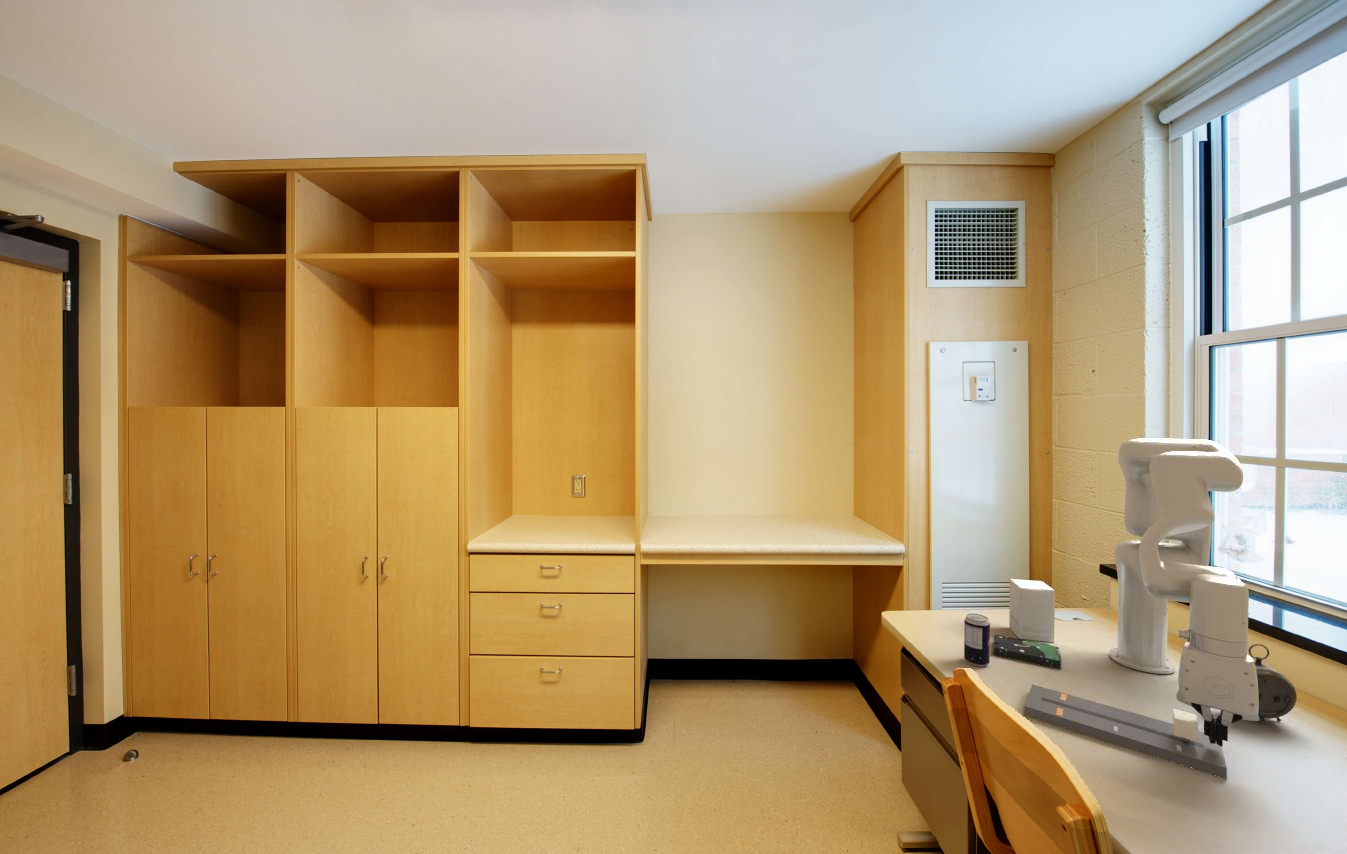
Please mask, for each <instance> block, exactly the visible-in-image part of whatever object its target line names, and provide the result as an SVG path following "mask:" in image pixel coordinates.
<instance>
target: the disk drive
mask: <svg viewBox="0 0 1347 854" xmlns="http://www.w3.org/2000/svg"><path fill="white" fill-rule="evenodd" d="M992 647H993V649H992V650H993V654H992V655H993V656H994V657H999V658H1004V659H1008V660H1014V661H1019V662H1024V663H1028V664H1034V665H1038V666H1043V667H1046V668H1051V669H1056V670H1062V658H1061V657H1062V656H1061V653H1060V647H1059V646H1055V645H1051V644H1047V643H1042V642H1038V641H1033V640H1027V639H1019V638H1016V637H1010V636H1005V635H1000V634H994V636H993V646H992Z"/></svg>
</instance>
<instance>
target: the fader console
mask: <svg viewBox="0 0 1347 854" xmlns="http://www.w3.org/2000/svg"><path fill="white" fill-rule="evenodd" d="M1023 716H1024V717H1029V718H1031V719H1035V720H1038V721H1042V722H1044V723H1048V724H1051V725H1054V726H1057V727H1060V728H1063V729H1066V730H1070V731H1072V732H1076V733H1078V734H1082V735H1086V736H1089V737H1091V738H1095V739H1098V740H1101V741H1104V742H1108V743H1111V744H1114V745H1116V746H1117V745H1118V746H1120V747H1123V748H1126V749H1130V750H1133V751H1136V752H1139V753H1142V754H1145V755H1149V756H1151V755H1152V757H1154V756H1155V758H1157V757H1159V758H1158V759H1161V760H1164V759H1165V760H1164V761H1167V760H1168V761H1167V762H1170V761H1172V762H1171V763H1173V762H1175V763H1174V764H1176V763H1177V765H1179V764H1182V765H1181V766H1183V765H1184V766H1183V767H1186V766H1187V767H1186V768H1189V767H1192V768H1194V769H1193V770H1195V769H1196V771H1198V770H1199V772H1201V771H1203V773H1204V774H1205V773H1206V774H1208V775H1211V774H1212V775H1211V776H1214V775H1216V776H1215V777H1217V776H1219V777H1218V778H1220V777H1221V779H1223V778H1225V779H1224V780H1227V778H1228V776H1227V775H1228V774H1227V773H1228V767H1227V764H1226V758H1225V755H1224V752H1223V748H1222V747H1223V746H1219V745H1218V744H1217V743H1216V744H1212V743H1210V741H1209V736H1206V735H1204V731H1203V732H1202V731H1200V730H1198V742H1197V741H1193V740H1190V741H1186V740H1183V739H1181V737H1180V736H1176V735H1174V729H1173V722H1172V723H1171V722H1168V721H1164V720H1160V719H1157V718H1153V717H1150V716H1146V715H1144V714H1140V713H1135V712H1132V711H1128V710H1124V709H1122V708H1117V707H1115V706H1111V705H1108V704H1104V703H1100V702H1097V701H1094V700H1090V699H1085V698H1082V697H1079V696H1076V695H1072V694H1068V693H1065V692H1061V691H1057V690H1054V689H1052V688H1047V687H1043V686H1039V685H1036V684H1034V683H1033V684H1032V685H1031V687H1030V689H1029V692H1028V694H1027V696H1026V699H1025V702H1024V704H1023ZM1192 768H1191V769H1192Z"/></svg>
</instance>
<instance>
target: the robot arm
mask: <svg viewBox="0 0 1347 854" xmlns="http://www.w3.org/2000/svg"><path fill="white" fill-rule="evenodd" d="M1117 453H1118V454H1117V455H1118V457H1117V458H1118V464H1119V466H1120V470H1121V471H1122V473H1123V476H1124V479H1125V498H1124V499H1125V500H1124V518H1123V519H1124V527H1125V530H1126V531H1127V532H1128V533H1129V534H1130V535H1133V536H1135V537H1138V538H1141V539H1140V540H1138V539H1137V540H1132V539H1131V540H1124V541H1121V542H1119V543H1118V544H1117V545H1116V546H1115V548H1114V561H1115V566H1116V572H1117V582H1118V583H1117V584H1118V588H1117V589H1118V593H1117V594H1118V595H1117V599H1118V601H1117V604H1118V605H1117V647H1114V648H1112V649H1110V650H1109V657H1110V658H1112V660H1113V661H1115V662H1116V663H1118V664H1120V665H1123V666H1124V667H1128V668H1130V669H1133V670H1137V671H1140V672H1143V673H1144V672H1145V673H1150V674H1156V675H1157V674H1158V675H1169V674H1173V673H1174V672H1175V671H1176V665H1175V664H1174V662H1172V661H1171V660H1169V659H1168V619H1169V617H1168V613H1169V612H1168V610H1169V607H1168V606H1169V603H1168V602H1169V601H1174V602H1181V603H1189V619H1188V620H1189V626H1188V628H1187V629H1186V630H1181V629H1178V638H1180V639H1184V640H1186V642H1184V644H1183V648H1182V650H1181V656H1180V660H1179V664H1178V665H1179V666H1178V668H1179V669H1178V676H1177V678H1178V679H1177V680H1178V682H1177V683H1178V688H1177V689H1178V690H1177V691H1176V694H1175V697H1176V700H1177V701H1179V702H1180V703H1182V704H1184V705H1187V706H1191V707H1192V708H1193V709H1194V711H1196V712H1197V713H1198V714H1199V715H1200V716H1201V717H1202V719H1203V733H1204V735H1206V736H1209V741H1210V743H1212V744H1216V743H1217V744H1218V745H1219V746H1221V747H1223V741H1224V742H1228V738H1229V737H1228V735H1229V727H1230V726H1231V725H1232V724H1234V723H1237V722H1239V721H1241V720H1243V721H1249V722H1250V721H1251V722H1258V721H1259V722H1260V718H1259V716H1258V711H1259V695H1258V680H1257V672H1256V667H1255V663H1254V660H1255V659H1254V658H1253V657H1251V656H1250V654H1249V655H1248V653H1249V648H1248V645H1249V640H1248V639H1249V602H1250V601H1249V600H1250V593H1249V592H1250V591H1249V588H1248V586H1247V585H1246V584H1245V583H1244V582H1243V581H1242V580H1241V579H1240V578H1239V577H1238V576H1237V574H1236V573H1234V572H1233V571H1231V570H1229V569H1227V568H1224V567H1218V566H1210V555H1211V543H1212V533H1213V531H1212V523H1213V522H1214V521H1215V513H1214V509H1213V506H1212V502H1211V499H1210V495H1209V492H1219V493H1220V492H1222V493H1231V492H1235V491H1237V490H1239V489H1240V488H1241V487H1242V484H1243V481H1244V471H1243V468H1242V465H1241V463H1240V462H1239V460H1238V458H1237V457H1236V456H1235V455H1234V454H1233V453H1232V452H1230V451H1229V450H1228V449H1226V448H1224V447H1223V446H1222V445H1220V444H1219V443H1217V442H1215V441H1213V440H1208V439H1197V438H1193V439H1190V438H1189V439H1187V438H1184V439H1183V438H1133V439H1128V440H1125V441H1123V442H1122V443H1121V444H1120V446H1119V448H1118V451H1117ZM1162 540H1166V541H1177V542H1181V543H1170V542H1162ZM1211 708H1212V709H1216V710H1219V711H1220V712H1219V715H1217V717H1216V718H1215V717H1214V714H1213V713H1212V711H1211Z"/></svg>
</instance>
